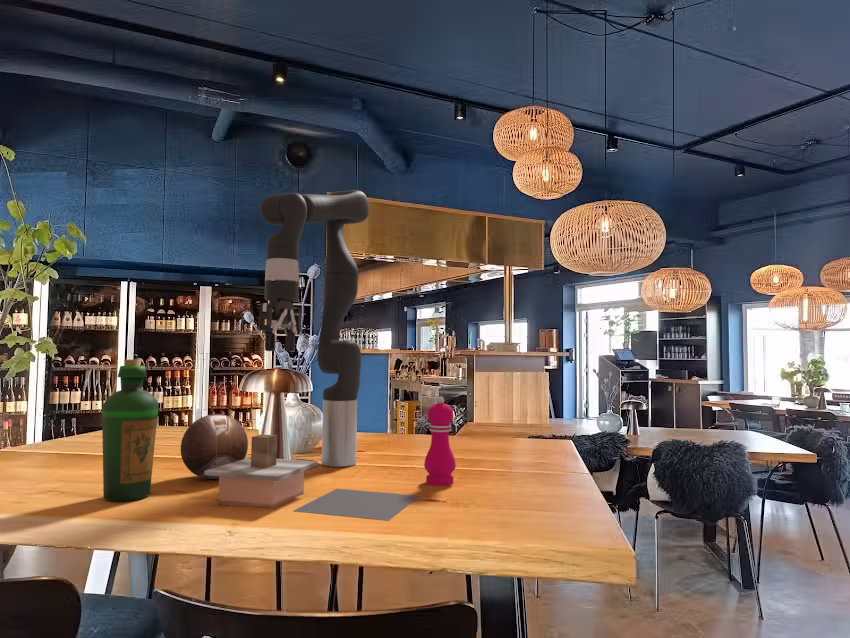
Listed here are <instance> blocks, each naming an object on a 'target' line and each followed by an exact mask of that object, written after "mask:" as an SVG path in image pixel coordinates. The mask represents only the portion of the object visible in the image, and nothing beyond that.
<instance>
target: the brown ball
mask: <svg viewBox="0 0 850 638" xmlns="http://www.w3.org/2000/svg"><path fill="white" fill-rule="evenodd" d="M247 435H248V434H247V432H246V430H245V428H244V426H243V425H242V424H241V423H240V422H239V421H238V420H236V419H235V418H233V417H232V416H228V415H226V414H220V413H215V414H214V413H213V414H208V415H205V416H202V417H200V418H198V419H196V420H195V421H194V422H192V423H191V424H190V425H189V426H188V428H186V430H185V432H184V434H183V436H182V439H181V442H180V456H181V459H182V462H183V464H184V466H185V467H186V468H187V469H188V471H190V473H192V474H193V475H195V476H197V477H199V478H201V479H206V480H219V476H211V475H204V471H205V470H209V469H212V468H216V467H219V466H222V465H226V464H229V463H233V462H236V461H240V460H243V459H246V457H247V454H248V450H249V438H248V436H247Z"/></svg>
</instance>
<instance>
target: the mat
mask: <svg viewBox="0 0 850 638" xmlns="http://www.w3.org/2000/svg"><path fill="white" fill-rule="evenodd" d="M420 497H421V495H418V494H406V493H405V494H404V493H403V494H402V493H396V492H395V493H394V492H381V491H380V492H379V491H369V490H368V491H367V490H358V489H357V490H356V489H347V488H346V489H345V488H335V489H333V490H332V491H329V492H327V493H325V494H323V495H321V496H319V497H318V498H316V499H314V500H312V501H309V502H308V503H305V504H304V505H302V506H300V507H299V506H298V507H297V508H295V509H294V510H293V512H297V513H307V514H316V515H324V516H325V515H326V516H327V515H328V516H337V517H344V518H345V517H347V518H356V519H366V520H367V519H368V520H375V521H376V520H377V521H386V522H388V521H391V519H393V518H394V517H395V516H397V515H398V514H399V513H401V512H402V511H403V510H405V509H406V508H407V507H408V506H409V505H411V504H412V503H413V502H414V501H416V500H417V499H418V498H420Z"/></svg>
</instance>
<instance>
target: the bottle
mask: <svg viewBox="0 0 850 638" xmlns="http://www.w3.org/2000/svg"><path fill="white" fill-rule="evenodd" d="M141 364H142V359H124V365H120V367H119V371H118V373H117V374H118V375H117V378H119V379H120V390H117V391H116V392H113V393H112V394H111V395H110V396H108V397H107V398H106V399H105V400H104V403H102V405H101V420H102V421H101V422H102V423H101V424H102V425H101V427H102V428H101V429H102V433H101V434H102V478H103V479H102V482H103V485H102V487H103V489H102V490H103V499H105V500H107V501H110V502H118V503H121V502H123V503H124V502H133V501H138V500H142V499H144V498H146V497H147V496H150V494H151V487H152V477H153V476H152V475H153V467H154V466H153V465H154V455H155V444H156V436H157V435H156V434H157V425H158V416H159V415H158V414H159V406H160V405H159V401H158V400H157V398H156V396H154V395H153V394H151V392H149V391H147V390H144V389H143V388H144V387H143V385H144V379H145V378H147V377H148V376H147V369H146V366H145V365H141Z"/></svg>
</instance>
